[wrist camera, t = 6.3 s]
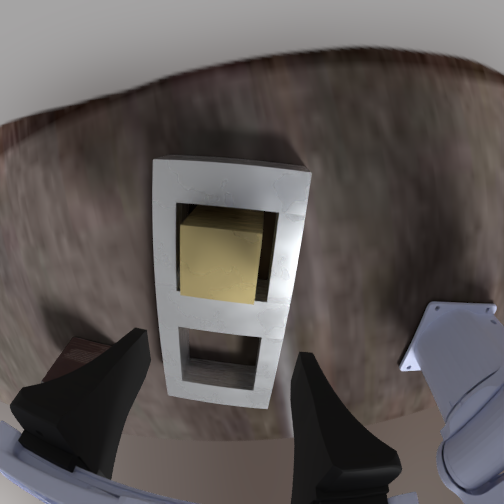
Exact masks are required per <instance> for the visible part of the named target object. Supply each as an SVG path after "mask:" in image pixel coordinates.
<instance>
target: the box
mask: <svg viewBox="0 0 504 504" xmlns="http://www.w3.org/2000/svg"><path fill="white" fill-rule="evenodd" d="M110 347H111V346H110V345H105V344H100V343H96V342H92V341H88V340H85V339H82V338H77V337H73V338H72V339H71V341H70V342H69V344H68V345H67V346H66V347H65V349H64V350H63V351H62V353H61V354H60V356H59V357H58V358H57V360H56V361H55V363H54V364H53V365H52V367H51V368H50V370H49V371H48V372H47V374H46V376H45V377H44V378H43V380H42V381H41V383H44V382H47V381H50V380H53V379H56V378H59V377H61V376H63V375H65V374H68V373H70V372H72V371H74V370H76V369H78V368H80V367H82V366H84V365H85V364H87V363H89V362H90V361H92V360H93V359H95V358H96V357H98V356H99V355H101V354H102V353H103V352H105V351H106V350H107V349H109V348H110Z"/></svg>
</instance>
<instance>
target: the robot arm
mask: <svg viewBox="0 0 504 504" xmlns="http://www.w3.org/2000/svg"><path fill="white" fill-rule="evenodd" d="M437 306H438V307H437ZM436 307H437V308H436ZM496 309H497V307H496V305H495V304H482V303H458V302H437V301H432V302H430V303H429V304H428V305H427V308H426V310H425V312H424V315H423V317H422V319H421V322H420V324H419V326H418V329H417V331H416V333H415V335H414V337H413V339H412V342H411V344H410V346H409V348H408V350H407V352H406V354H405V356H404V358H403V360H402V362H401V364H400V366H399V368H400V370H401V371H413V370H421V371H422V373H423V375H424V377H425V379H426V381H427V383H428V385H429V387H430V390H431V392H432V394H433V396H434V398H435V401H436V403H437V405H438V407H439V410H440V412H441V414H442V417H443V419H444V421H445V424H446V425H445V426H444V427H443V428H442V429H441V431H440V432H441V435H442V437H443V442H442V443H441V444H440V445H439V447H438V450H437V456H436V462H437V469H438V473H439V476H440V478H441V480H442V481H443V483H444V484H445V485H446V486H447V487H448V488H449V489H450V490H452V491H453V492H454V493H456V494H457V495H458V496H459V498H460V499H461V500H462V501H463V503H464V504H504V473H502V474H500V475H498V474H499V473H501V472H502V471H503V470H504V326H503V325H502V324H501V323H500V321H499V320H498V319H497V318H496V317H495V316H494V313H495V311H496ZM150 362H151V357H150V351H149V343H148V336H147V330H144V329H139V328H134V329H133V330H132V331H130V332H129V333H128V334H127V335H125V336H124V337H123V338H122V339H120V340H119V341H118V342H117V343H115V344H114V345H113V346H111V347H110V348H109V349H107V350H106V351H105V352H103V353H102V354H101V355H99V356H98V357H96V358H95V359H93V360H92V361H90V362H89V363H87V364H85V365H84V366H82V367H80V368H78V369H76V370H74V371H72V372H70V373H68V374H65V375H63V376H61V377H59V378H56V379H53V380H50V381H47V382H44V383H40V384H36V385H32V386H28V387H23V388H22V389H21V390H20V391H19V393H18V394H17V396H16V397H15V398H14V400H13V401H12V403H11V404H10V409H11V412H12V413H13V415H14V416H15V418H16V419H17V421H18V422H19V423H20V425H21V426H22V427H23V429H24V431H23V433H22V434H21V433H20V432H19V431H18V430H17V429H15V428H13V427H12V426H10V425H9V424H7V423H6V422H4V421H1V422H0V473H2V474H3V475H4V476H5V477H6V478H7V479H9V480H10V481H12V482H13V483H15V484H16V485H17V486H19V487H20V488H22V489H23V490H25V491H27V492H28V493H30V494H31V495H33V496H35V497H36V498H38V499H39V500H41V501H43V502H44V503H46V504H199V503H193V502H188V501H183V500H178V499H173V498H169V497H165V496H161V495H157V494H154V493H150V492H146V491H143V490H139V489H136V488H133V487H129V486H127V485H124V484H121V483H117V482H115V481H112V480H111V478H112V472H113V467H114V462H115V457H116V453H117V448H118V445H119V441H120V438H121V434H122V431H123V427H124V424H125V421H126V418H127V416H128V413H129V411H130V409H131V407H132V405H133V402H134V400H135V398H136V396H137V394H138V392H139V390H140V388H141V386H142V384H143V382H144V379H145V377H146V374H147V371H148V368H149V365H150ZM290 400H291V410H292V420H293V430H294V445H295V448H294V474H293V488H292V498H291V504H419V502H418V498H417V494H416V492H411V493H407V494H402V495H397V496H393V497H390V498H388V499H387V495H386V493H388V492H389V487H388V484H389V483H391V482H392V481H393V480H394V479H395V478H397V477H398V476H399V474H400V473H401V471H402V466H401V463H400V459H399V457H398V454H397V451H396V450H394V449H392V448H391V447H389V446H388V445H386V444H385V443H383V442H382V441H380V440H379V439H378V438H377V437H375V436H374V435H373V434H372V433H370V432H369V431H368V430H367V429H366V428H365V427H364V426H363V425H362V424H361V423H360V422H359V421H358V420H357V419H356V418H355V417H354V416H353V415H352V414H351V413H350V412H349V410H348V409H347V408H346V407H345V406H344V404H343V403H342V402H341V400H340V399H339V397H338V396H337V395H336V393H335V392H334V390H333V389H332V387H331V385H330V384H329V382H328V380H327V379H326V377H325V375H324V374H323V372H322V370H321V368H320V366H319V364H318V362H317V360H316V358H315V356H314V354H313V353H308V352H299V355H298V358H297V362H296V365H295V369H294V372H293V376H292V379H291V399H290Z"/></svg>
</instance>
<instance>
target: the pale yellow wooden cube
mask: <svg viewBox="0 0 504 504" xmlns="http://www.w3.org/2000/svg"><path fill="white" fill-rule="evenodd" d="M263 221H264V212H263V211H254V210H245V209H236V208H227V207H217V206H206V205H198V206H197V207H196V208H195V209H194V210H193V211H192V212H191V213H190V215H189V216H188V217H187V218H186V219H185V220H184V221H183V222H182V224H181V225H180V295H182V296H189V297H196V298H204V299H211V300H219V301H227V302H235V303H244V304H252V305H254V301H255V293H256V285H257V277H258V268H259V260H260V252H261V244H262V236H263Z"/></svg>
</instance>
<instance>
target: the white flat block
mask: <svg viewBox="0 0 504 504" xmlns="http://www.w3.org/2000/svg"><path fill="white" fill-rule="evenodd" d="M310 181H311V172H310V170H309V169H308V168H307V167H306V166H300V165H293V164H285V163H276V162H268V161H258V160H248V159H237V158H225V157H211V156H194V155H172V154H169V155H166V156H162V157H159V158H156V159H153V185H152V214H153V251H154V271H155V287H156V300H157V311H158V322H159V331H160V340H161V349H162V357H163V364H164V371H165V378H166V385H167V391H168V395H170V396H175V397H181V398H186V399H192V400H198V401H204V402H210V403H217V404H225V405H233V406H241V407H251V408H262V409H268V405H269V401H270V396H271V392H272V388H273V383H274V379H275V374H276V370H277V365H278V361H279V356H280V351H281V346H282V342H283V337H284V332H285V327H286V322H287V317H288V312H289V307H290V301H291V296H292V291H293V285H294V280H295V274H296V269H297V263H298V257H299V251H300V245H301V239H302V233H303V227H304V221H305V214H306V208H307V201H308V195H309V188H310ZM189 204H200V205H212V206H222V207H232V208H242V209H252V210H261V211H270V212H276V220H275V228H274V235H273V243H272V251H271V258H270V266H269V273H268V280H262V279H257V285H256V293H255V301H254V305H252V304H244V303H235V302H227V301H219V300H211V299H204V298H196V297H189V296H182V295H180V225H181V224H182V222H183V221H184V220H185V219H186V218H187V217H188V206H189ZM189 328H191V329H198V330H205V331H212V332H219V333H227V334H235V335H244V336H253V337H260V338H259V344H258V351H257V358H256V365H255V366H249V365H240V364H232V363H224V362H217V361H210V360H203V359H196V358H190V351H189Z"/></svg>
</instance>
